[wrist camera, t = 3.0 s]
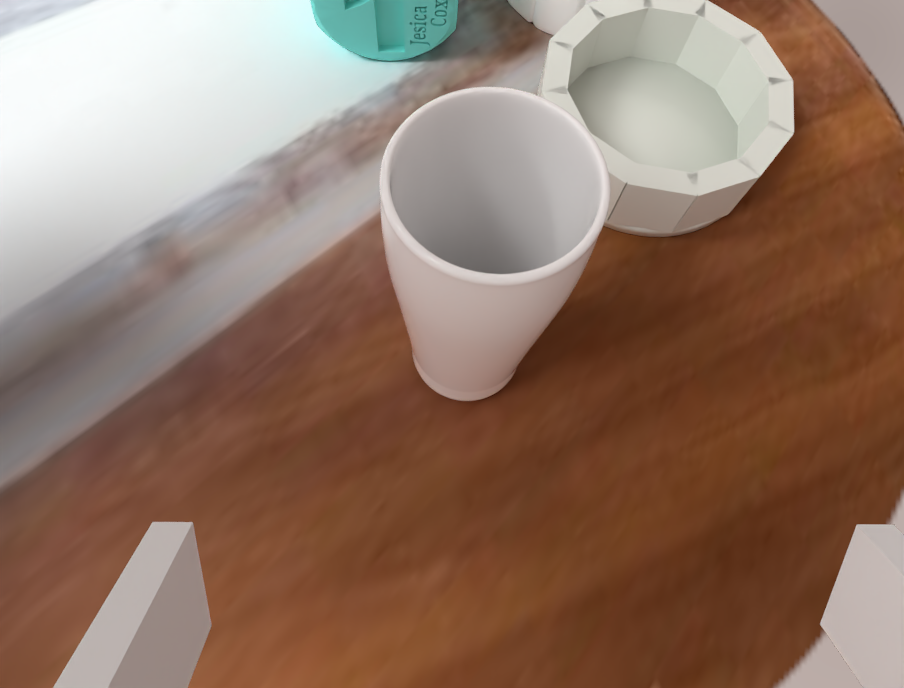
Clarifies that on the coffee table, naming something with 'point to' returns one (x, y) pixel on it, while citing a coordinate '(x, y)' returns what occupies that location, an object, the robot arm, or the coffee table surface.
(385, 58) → the decorative dice
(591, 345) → the coffee table surface
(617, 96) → the dish
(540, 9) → the decorative vase
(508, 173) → the drinking glass
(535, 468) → the coffee table surface
